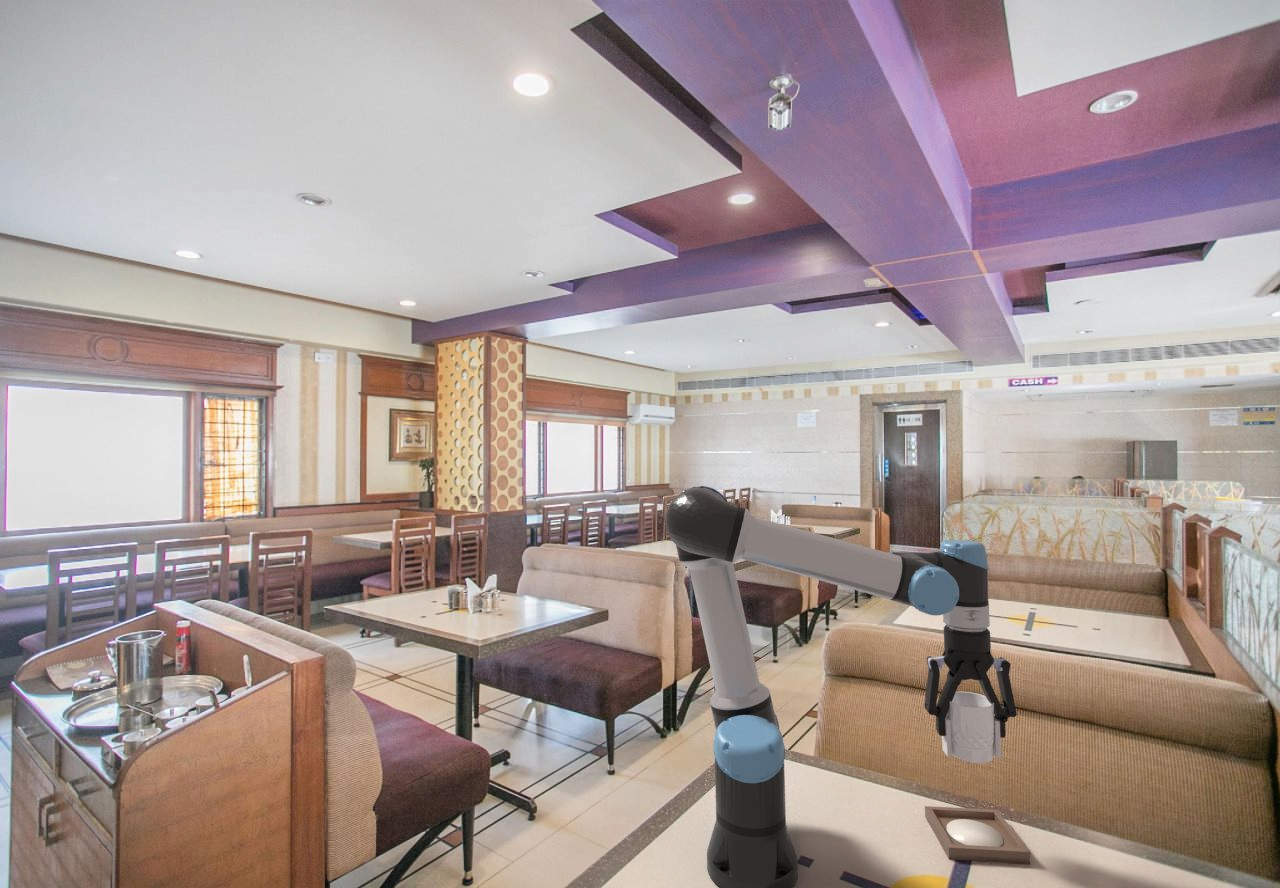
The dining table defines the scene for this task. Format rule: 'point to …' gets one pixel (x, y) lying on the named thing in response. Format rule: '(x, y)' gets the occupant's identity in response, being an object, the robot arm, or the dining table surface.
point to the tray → (976, 835)
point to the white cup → (972, 727)
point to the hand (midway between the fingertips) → (971, 753)
